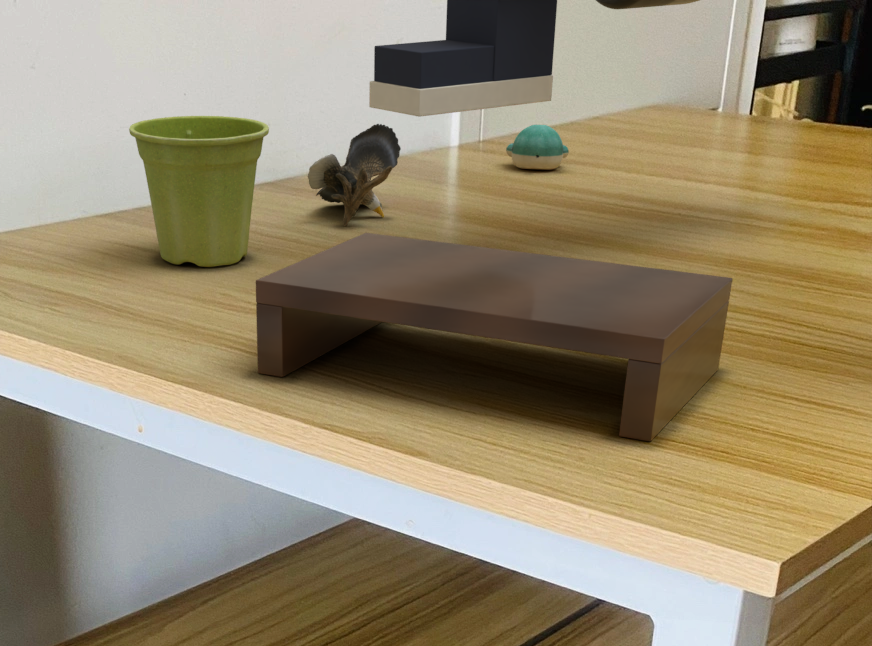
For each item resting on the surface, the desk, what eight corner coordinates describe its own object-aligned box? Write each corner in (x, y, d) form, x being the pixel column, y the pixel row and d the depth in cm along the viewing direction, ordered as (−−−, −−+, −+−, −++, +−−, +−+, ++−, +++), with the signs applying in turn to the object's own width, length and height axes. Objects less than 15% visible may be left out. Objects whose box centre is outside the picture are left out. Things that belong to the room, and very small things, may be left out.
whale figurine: (503, 171, 126) (506, 127, 124) (506, 157, 133) (509, 115, 131) (567, 174, 126) (571, 129, 124) (567, 159, 132) (571, 117, 130)
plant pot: (295, 263, 96) (294, 130, 91) (173, 280, 92) (166, 141, 87) (232, 237, 103) (228, 112, 98) (116, 252, 98) (106, 121, 94)
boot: (499, 92, 92) (509, -90, 86) (551, 100, 88) (565, -88, 83) (369, 107, 86) (370, -86, 81) (418, 116, 83) (424, -85, 77)
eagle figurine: (419, 212, 105) (421, 168, 112) (369, 131, 101) (374, 90, 108) (336, 263, 108) (343, 217, 115) (285, 186, 104) (295, 143, 111)
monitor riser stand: (718, 369, 76) (732, 277, 73) (650, 442, 66) (664, 338, 63) (363, 316, 85) (365, 232, 82) (257, 373, 75) (255, 280, 72)
